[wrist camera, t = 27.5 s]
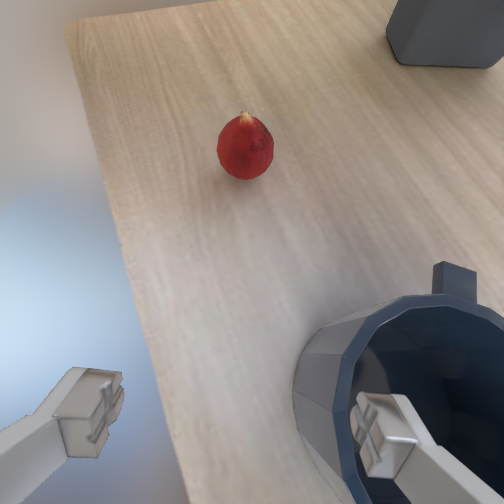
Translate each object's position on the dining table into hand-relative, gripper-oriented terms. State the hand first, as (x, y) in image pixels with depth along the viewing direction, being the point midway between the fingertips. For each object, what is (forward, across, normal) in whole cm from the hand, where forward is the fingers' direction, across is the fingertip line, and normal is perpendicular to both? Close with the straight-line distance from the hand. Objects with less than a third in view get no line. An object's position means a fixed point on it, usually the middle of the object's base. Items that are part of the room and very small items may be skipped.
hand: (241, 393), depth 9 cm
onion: (+25, +1, -4) cm, 25 cm away
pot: (+9, -12, +11) cm, 19 cm away
